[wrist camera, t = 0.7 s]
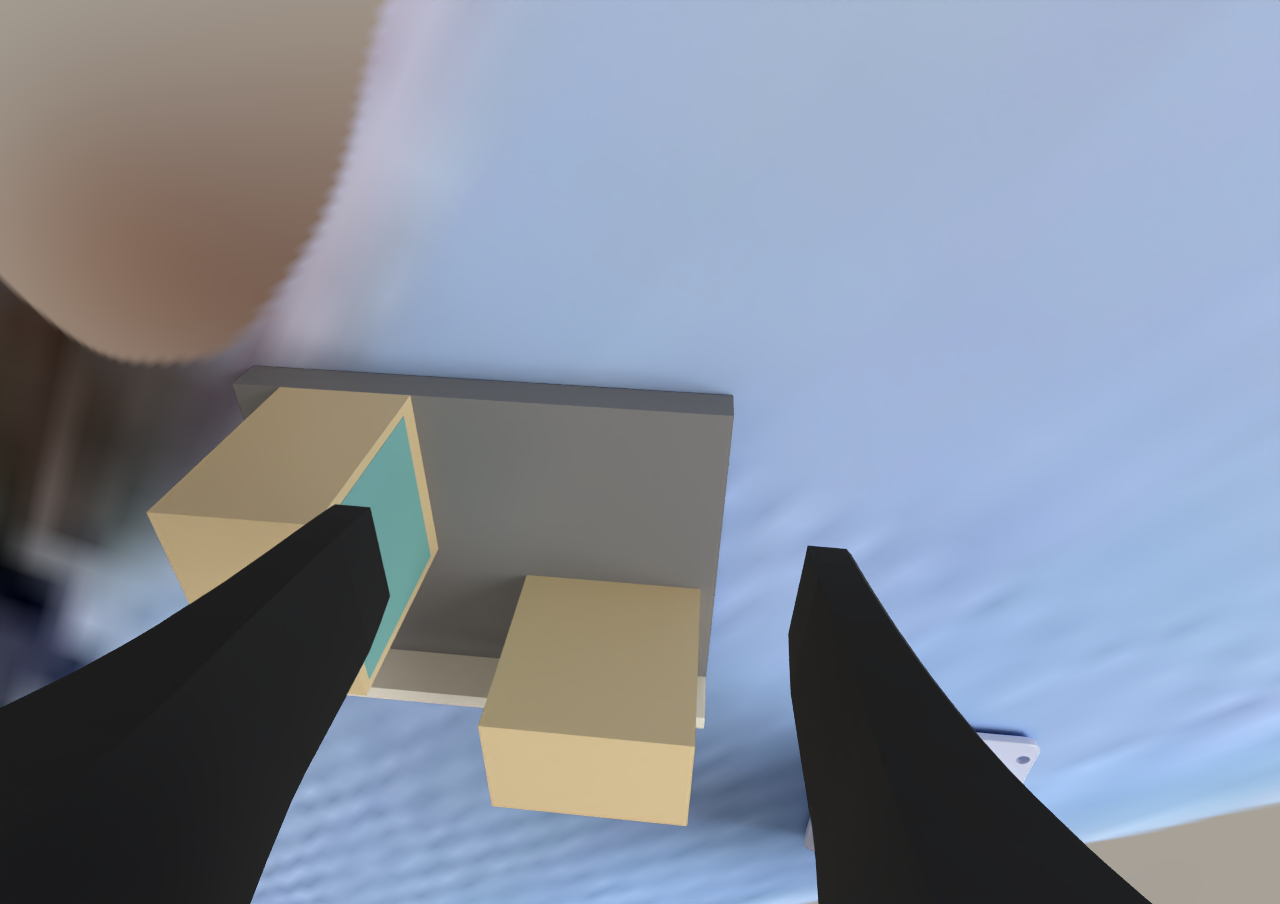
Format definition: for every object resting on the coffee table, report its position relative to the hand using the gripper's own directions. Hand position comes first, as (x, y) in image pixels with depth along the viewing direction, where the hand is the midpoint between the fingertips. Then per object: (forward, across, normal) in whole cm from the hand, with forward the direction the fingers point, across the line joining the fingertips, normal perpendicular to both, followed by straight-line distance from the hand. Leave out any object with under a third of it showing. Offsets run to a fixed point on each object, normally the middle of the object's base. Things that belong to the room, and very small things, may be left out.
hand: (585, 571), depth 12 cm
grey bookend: (+10, +5, +8) cm, 14 cm away
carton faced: (+9, 0, +11) cm, 14 cm away
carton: (+9, +9, +5) cm, 14 cm away
